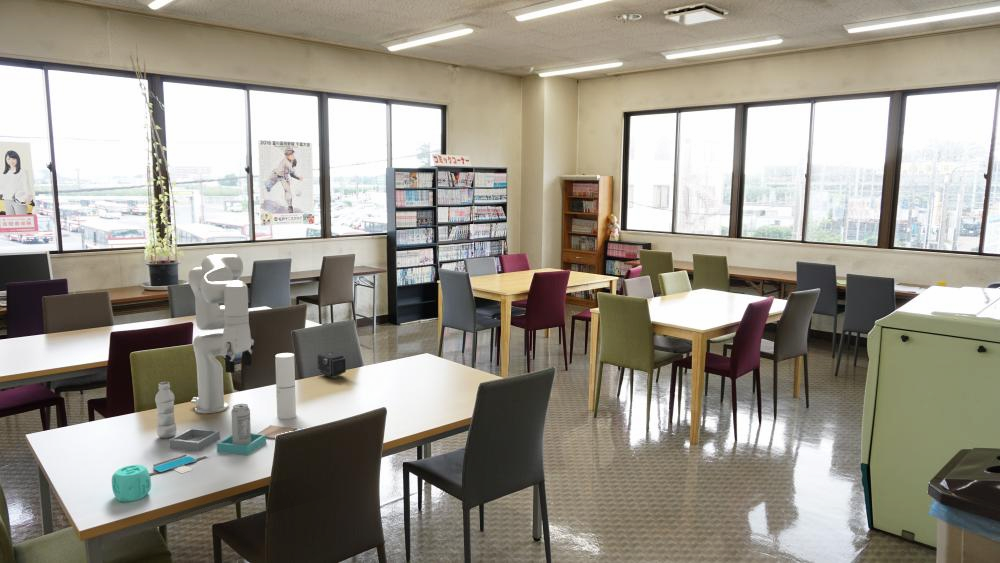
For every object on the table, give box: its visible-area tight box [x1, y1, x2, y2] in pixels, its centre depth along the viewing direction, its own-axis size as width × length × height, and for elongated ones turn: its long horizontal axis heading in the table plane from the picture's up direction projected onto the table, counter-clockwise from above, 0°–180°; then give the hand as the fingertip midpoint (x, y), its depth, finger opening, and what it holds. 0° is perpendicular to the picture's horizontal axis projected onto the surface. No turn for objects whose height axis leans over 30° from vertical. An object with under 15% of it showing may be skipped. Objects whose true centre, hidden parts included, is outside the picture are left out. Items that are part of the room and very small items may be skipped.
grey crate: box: [168, 427, 221, 452], centre depth 236 cm, size 12×12×3 cm
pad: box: [256, 424, 298, 440], centre depth 247 cm, size 11×11×1 cm
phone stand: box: [149, 454, 208, 476], centre depth 216 cm, size 20×12×2 cm, turn 142°
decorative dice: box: [111, 464, 152, 503], centre depth 195 cm, size 8×8×8 cm
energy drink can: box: [230, 403, 252, 446], centre depth 232 cm, size 6×6×15 cm
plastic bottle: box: [154, 381, 177, 439], centre depth 241 cm, size 6×7×20 cm
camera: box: [317, 351, 347, 379], centre depth 322 cm, size 11×11×15 cm
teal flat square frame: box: [216, 432, 267, 456], centre depth 233 cm, size 12×12×3 cm
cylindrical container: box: [274, 352, 297, 420], centre depth 264 cm, size 7×7×25 cm
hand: (238, 368), depth 229 cm, fingers open, 9 cm apart
